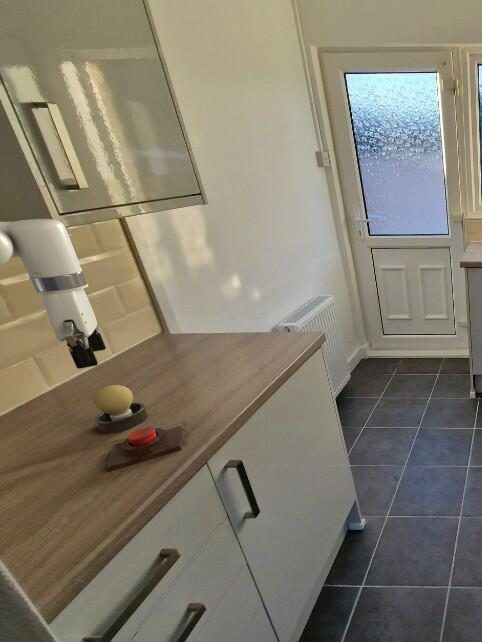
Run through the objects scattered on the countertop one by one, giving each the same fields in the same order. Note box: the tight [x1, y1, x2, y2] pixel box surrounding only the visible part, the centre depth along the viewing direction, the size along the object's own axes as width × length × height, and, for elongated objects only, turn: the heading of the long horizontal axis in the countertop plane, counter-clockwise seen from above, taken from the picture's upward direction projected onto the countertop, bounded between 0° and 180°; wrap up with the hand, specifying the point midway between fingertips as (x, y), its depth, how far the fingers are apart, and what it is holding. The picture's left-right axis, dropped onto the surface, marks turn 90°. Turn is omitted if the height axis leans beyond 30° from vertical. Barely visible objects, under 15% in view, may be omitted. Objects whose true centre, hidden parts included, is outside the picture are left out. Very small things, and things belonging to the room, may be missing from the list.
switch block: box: [105, 425, 184, 473], centre depth 89 cm, size 12×9×3 cm
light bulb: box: [93, 384, 134, 421], centre depth 96 cm, size 6×6×10 cm
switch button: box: [127, 426, 157, 446], centre depth 89 cm, size 4×4×2 cm
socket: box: [94, 401, 149, 434], centre depth 97 cm, size 9×9×4 cm
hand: (92, 358), depth 91 cm, fingers open, 9 cm apart
